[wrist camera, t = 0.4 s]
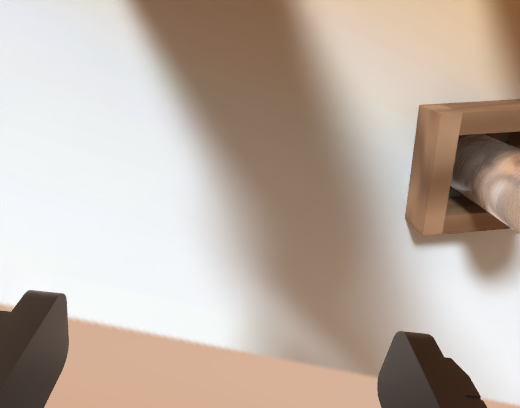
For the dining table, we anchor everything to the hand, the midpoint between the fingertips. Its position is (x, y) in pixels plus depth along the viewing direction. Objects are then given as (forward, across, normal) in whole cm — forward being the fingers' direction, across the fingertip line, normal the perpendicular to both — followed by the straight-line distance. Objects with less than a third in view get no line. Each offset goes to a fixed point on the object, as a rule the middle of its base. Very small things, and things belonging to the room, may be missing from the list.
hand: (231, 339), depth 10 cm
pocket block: (+22, -18, +1) cm, 28 cm away
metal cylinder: (+22, -18, +1) cm, 28 cm away
